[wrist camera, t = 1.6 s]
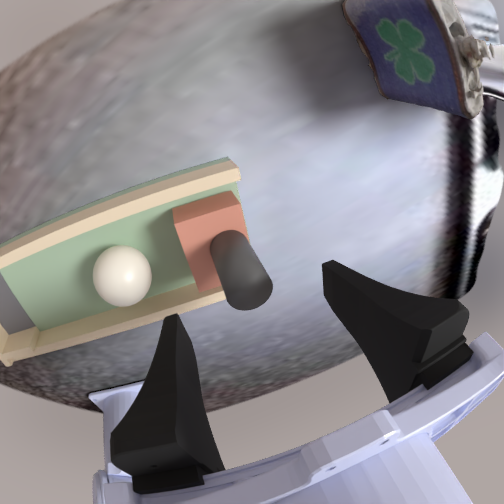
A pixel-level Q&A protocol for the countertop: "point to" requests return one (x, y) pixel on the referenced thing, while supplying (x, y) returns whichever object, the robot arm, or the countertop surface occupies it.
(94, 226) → the pitch
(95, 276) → the ball
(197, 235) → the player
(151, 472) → the robot arm
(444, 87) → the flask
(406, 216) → the countertop surface
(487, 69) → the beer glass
